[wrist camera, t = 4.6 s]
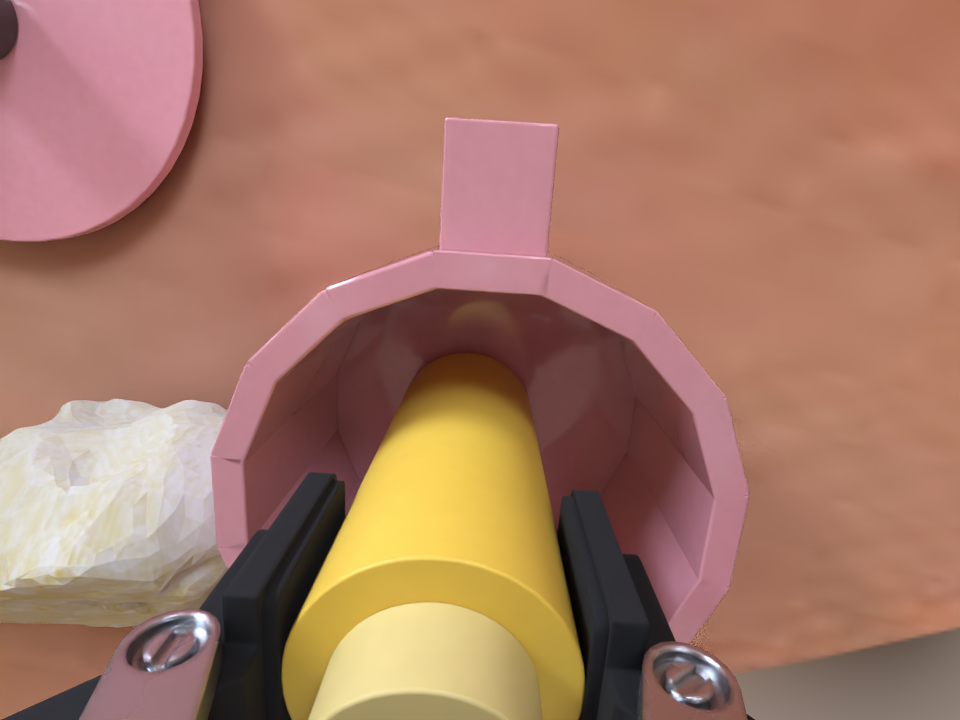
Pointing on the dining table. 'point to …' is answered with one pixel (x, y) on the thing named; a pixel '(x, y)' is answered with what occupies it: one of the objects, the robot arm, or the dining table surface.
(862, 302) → the dining table surface
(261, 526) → the pot
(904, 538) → the dining table surface
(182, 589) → the cheese
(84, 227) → the lid
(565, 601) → the yellow stepped cylinder
